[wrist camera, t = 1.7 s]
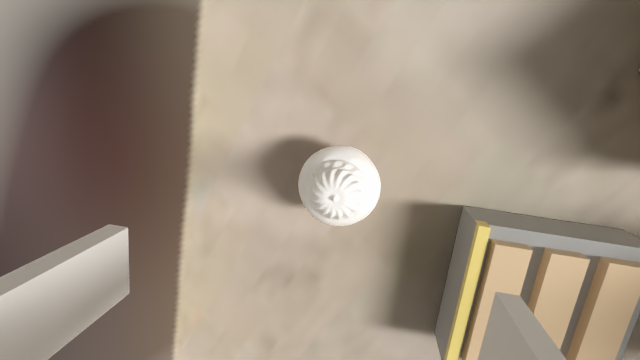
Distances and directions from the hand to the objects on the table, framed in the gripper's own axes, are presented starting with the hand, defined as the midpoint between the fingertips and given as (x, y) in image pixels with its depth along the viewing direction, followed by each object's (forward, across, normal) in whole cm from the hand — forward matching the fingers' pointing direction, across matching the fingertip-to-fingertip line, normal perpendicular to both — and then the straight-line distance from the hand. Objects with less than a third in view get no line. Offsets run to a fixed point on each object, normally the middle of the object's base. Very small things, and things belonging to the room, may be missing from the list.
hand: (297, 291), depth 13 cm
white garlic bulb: (+18, 0, 0) cm, 18 cm away
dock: (+18, +16, -7) cm, 25 cm away
